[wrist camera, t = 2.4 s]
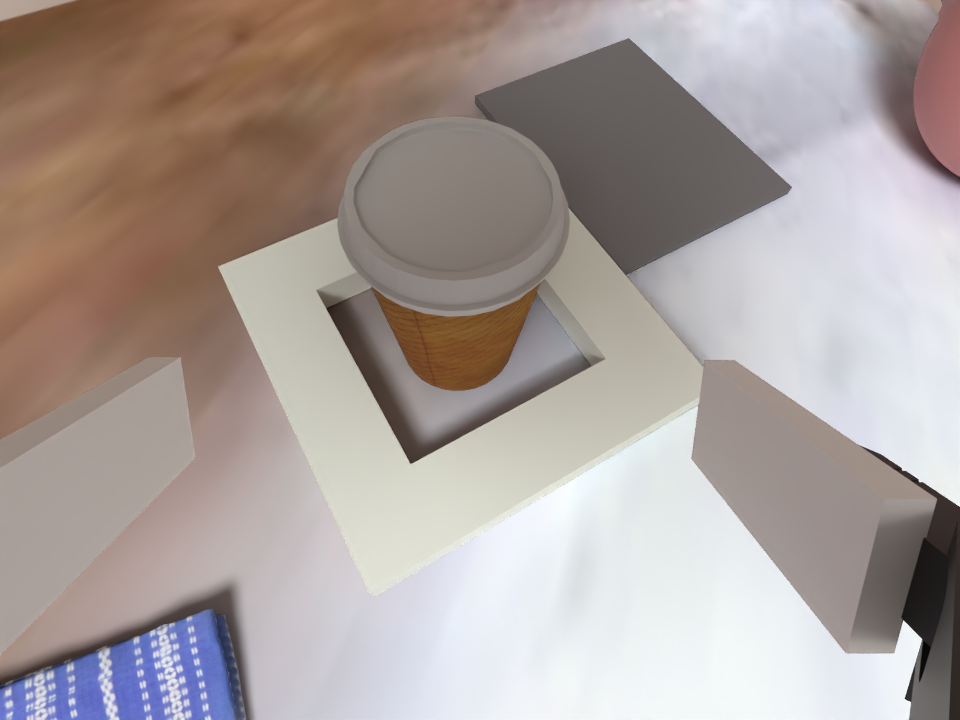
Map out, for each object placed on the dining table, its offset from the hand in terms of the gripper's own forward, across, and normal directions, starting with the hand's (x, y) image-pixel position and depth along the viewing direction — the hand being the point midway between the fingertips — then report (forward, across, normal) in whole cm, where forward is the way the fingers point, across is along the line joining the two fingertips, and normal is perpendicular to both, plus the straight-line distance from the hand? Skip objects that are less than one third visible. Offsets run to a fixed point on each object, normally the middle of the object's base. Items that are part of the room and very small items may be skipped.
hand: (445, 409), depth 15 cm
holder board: (+18, 0, -3) cm, 19 cm away
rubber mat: (+30, +12, +8) cm, 33 cm away
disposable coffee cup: (+19, 0, -4) cm, 19 cm away
